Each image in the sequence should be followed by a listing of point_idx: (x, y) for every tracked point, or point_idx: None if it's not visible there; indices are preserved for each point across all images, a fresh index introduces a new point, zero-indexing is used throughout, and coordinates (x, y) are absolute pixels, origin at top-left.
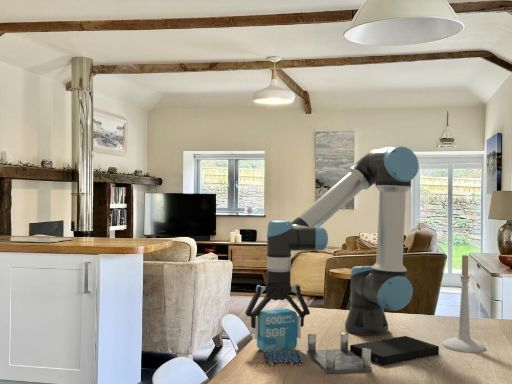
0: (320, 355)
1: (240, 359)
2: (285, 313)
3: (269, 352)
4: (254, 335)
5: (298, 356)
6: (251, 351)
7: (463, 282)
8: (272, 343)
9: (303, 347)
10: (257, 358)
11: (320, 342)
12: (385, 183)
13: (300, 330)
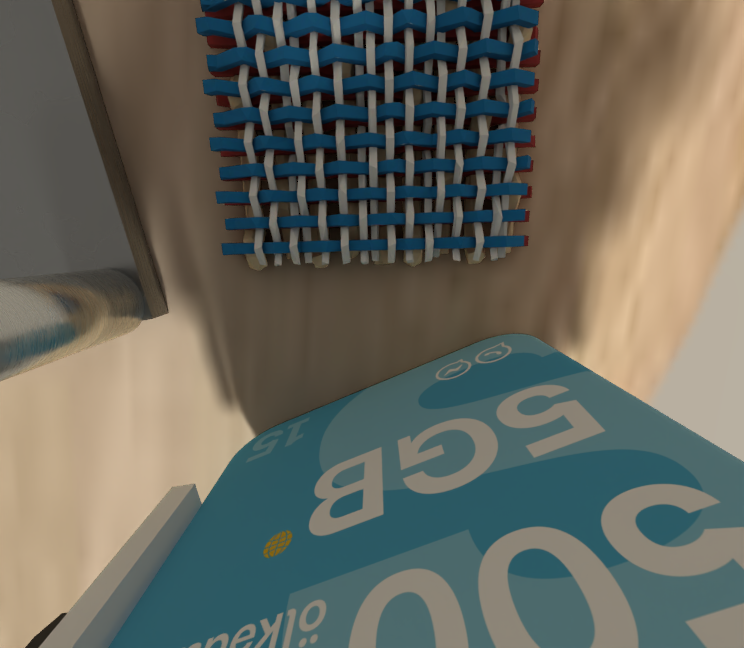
0: (25, 164)
1: (733, 145)
2: None
3: (484, 237)
4: None
5: (222, 83)
6: (600, 372)
7: None
8: (453, 381)
9: (195, 475)
10: (582, 178)
11: (75, 588)
12: None
13: (122, 549)
